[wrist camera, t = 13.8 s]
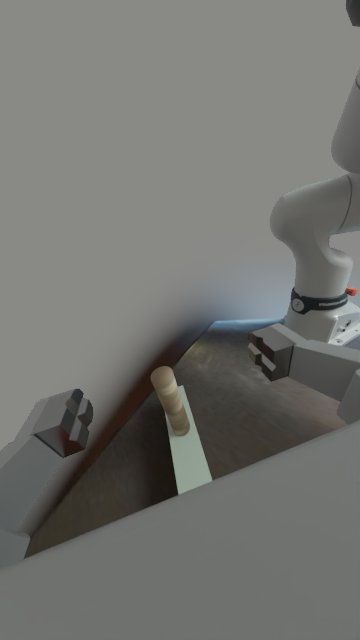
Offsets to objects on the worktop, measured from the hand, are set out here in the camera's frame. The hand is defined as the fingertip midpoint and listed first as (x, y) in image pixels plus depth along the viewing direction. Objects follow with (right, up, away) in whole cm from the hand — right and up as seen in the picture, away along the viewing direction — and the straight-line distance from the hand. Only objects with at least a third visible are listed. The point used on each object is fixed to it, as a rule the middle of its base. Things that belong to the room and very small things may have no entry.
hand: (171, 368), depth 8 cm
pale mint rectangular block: (+2, -23, +25) cm, 34 cm away
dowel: (+1, -17, +23) cm, 28 cm away
